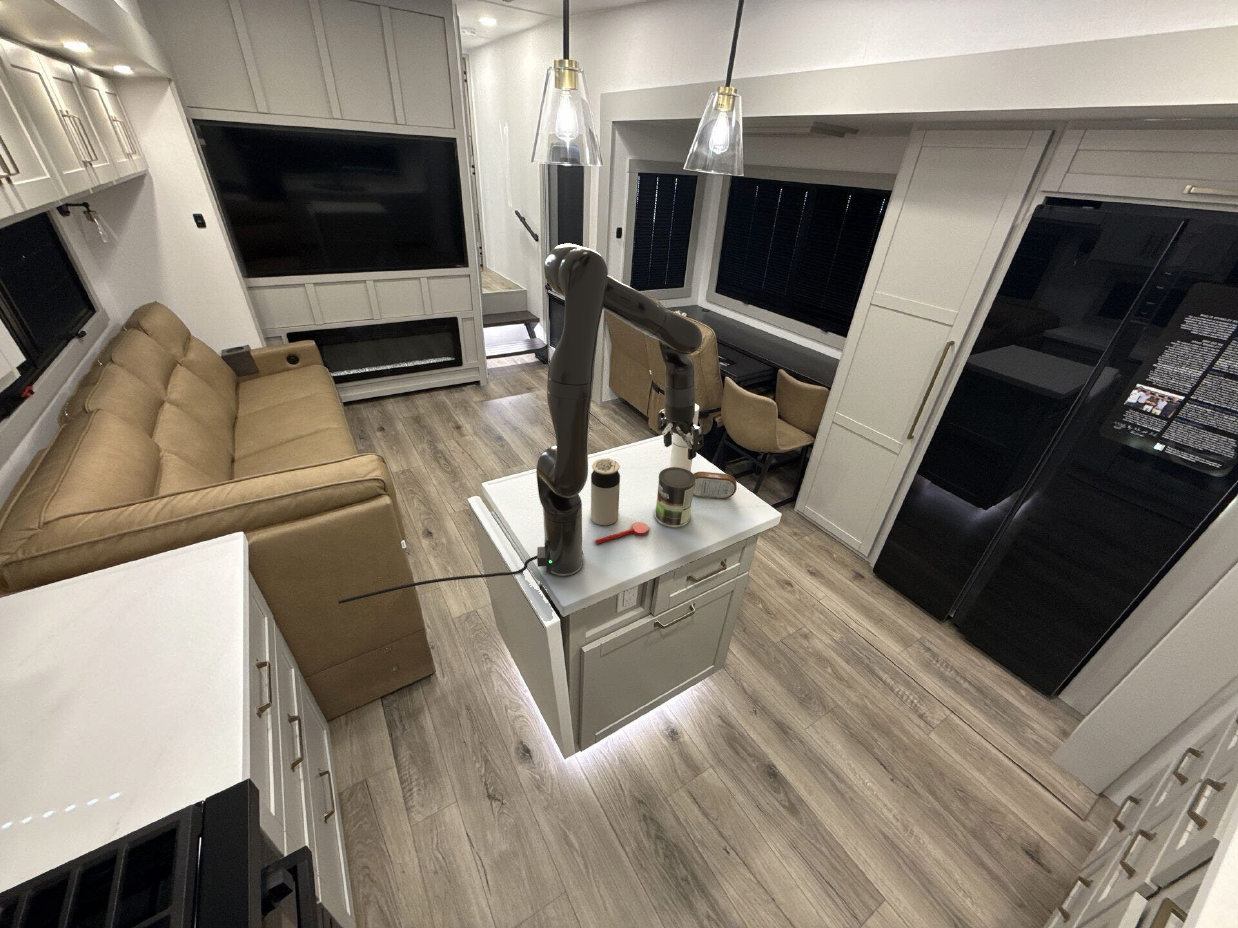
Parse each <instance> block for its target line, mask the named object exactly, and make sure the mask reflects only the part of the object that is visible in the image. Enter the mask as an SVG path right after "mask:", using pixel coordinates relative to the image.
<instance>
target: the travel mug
mask: <svg viewBox="0 0 1238 928" xmlns="http://www.w3.org/2000/svg"><path fill="white" fill-rule="evenodd" d="M620 467H621V466H620V464H619V462H618V461H617V460H614V459H612V458H599V459H597V460H595V461H594V462H592V464H591V468H592V470H593V471H592V472H591V474H590V519H591V521H592V522H593V523H595V524H597V525H599V526H610V525H613V524H615V523H616V522H617V521H618V519H619V511H620V509H619V508H620V507H619V506H620V486H621V473H620V471H619V470H620Z"/></svg>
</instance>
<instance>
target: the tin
mask: <svg viewBox="0 0 1238 928" xmlns="http://www.w3.org/2000/svg"><path fill="white" fill-rule="evenodd" d="M693 474H694V476H695V478H696V481H695V484H694V491H693V497H698V498H708V499H718V500H726V499H730V498H732V497H733V496H734V495H735V494H736V491H737V489H738V488H737V487H738V486H737V480H736V479H735V477H734V476H733V475H731V474H728V473H721V472H711V471H695V472H693Z"/></svg>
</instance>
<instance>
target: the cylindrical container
mask: <svg viewBox="0 0 1238 928" xmlns="http://www.w3.org/2000/svg"><path fill="white" fill-rule="evenodd" d="M699 413H700V405H698V404H697V403H695V415H694V418H693V423H694V426H697V427H698V420H699ZM689 436H690V433H688V434H687V435H686V437H689ZM690 442H691V444H692V443H693V442H692V440H691V439H690ZM670 448H671V449H670V455H669V456H670V457H669V466H668V468H670V467H679V468H683V469H686V470H689V471H690V472H692V465H693V459H692V460H689V459H688V448H689V447H688V445H687V443H686V442H684V441H683V439H682V437H681V436H679V435H678V434H675V433H673V432H672V445H671V446H670Z"/></svg>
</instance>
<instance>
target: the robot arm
mask: <svg viewBox="0 0 1238 928" xmlns="http://www.w3.org/2000/svg"><path fill="white" fill-rule="evenodd" d="M543 272H544V276H545V280H546V282H547V284H548V285H549V286H550V288H551V289H552V290H553V291H554V292H555V293H557V294H558V295H560V296H562V297H564V322H563V328H562V329H563V330H562V333H561V337H560V339H559V341H558V343H557V345H556V347H555V349H554V351H553V353H552V355H551V358H550V359H549V363H548V368H547V379H546V380H547V381H546V383H547V384H546V400H547V401H546V402H547V407H548V410H549V415H550V419H551V423H552V426H553V431H554V434H555V443H556V445H552V446H549V447H547V448H546V449H545V450H544V451H543V452H542V453H541V454H540V455H539V458H538V460H537V462H536V468H535V469H536V471H535V473H536V484H537V492H538V493H537V494H538V499H539V502H540V505H541V507H542V515H543V516H542V518H543V528H544V529H543V532H544V546H537V547H536V548H537V551H536V555H534V556H531V557H529V558H528V559H526V560H525V562H524V564H523V567H522V568H521V569H518V570H515V571H503V572H502V571H501V572H493V573H492V572H491V573H483V574H468V575H460V576H459V575H457V576H447V577H442V578H436V579H435V578H433V579H427V580H422V581H416V582H410V583H406V584H401V585H396V586H392V587H388V588H384V589H380V590H376V591H371V592H367V593H363V594H359V595H355V596H351V597H347V598H343V599H339V600H338V601H337V603H338V604H339V605H340V604H344V603H348V602H352V601H357V600H360V599H364V598H368V597H372V596H377V595H381V594H385V593H390V592H394V591H398V590H402V589H407V588H411V587H417V586H422V585H428V584H429V585H430V584H435V583H441V582H442V583H443V582H450V581H460V580H468V579H482V578H493V577H500V576H513V575H517V574H521V573H523V572H524V571H526V570H527V568H528V565H529V563H531V562H532V561H535V560H536V562H537V564H536V565H537V567H545V572H546V574H549V573H550V574H553V575H554V576H558V577H569V576H572V575H574V574H576V573H578V572H579V571H581V569H582V567H583V564H584V562H583V561H584V560H583V555H584V551H583V503H582V502H583V501H582V499H581V496H580V493H581V492H582V490H583V489H584V488H585V486H586V483H587V481H588V475H589V430H590V429H589V428H590V419H591V418H590V417H591V406H592V405H591V404H592V398H593V389H594V379H595V364H596V363H595V362H596V355H597V347H598V346H597V345H598V338H599V337H598V336H599V329H600V323H601V319H602V313H603V311H605V312H607V313H609V314H610V315H612V316H614V317H615V318H617V319H618V320H620V321H622V322H623V323H625V325H628V326H630V327H631V328H633V329H635V330H636V331H638V332H640V333H642V334H644V335H645V336H647V337H649V338H652V339H655V340H657V341H658V347H659V350H660V351H659V352H660V354H661V358H662V362H663V365H664V370H665V371H664V376H665V377H664V378H665V380H664V382H665V383H664V384H665V385H664V409H661V410H660V411H657V426H656V427H657V428H656V429H657V431H658V432H661V434H662V436H663V445H664V447H665V448H669V447H671V446H672V438H673V433H675V434H678V435H679V436H681V437H682V439H683V441H684V442H686V443H687V445H688V447H689V448H688V459H689V460H692V461H693V460H694V459H695V458H696V457H697V450H699V449H701V448H703V447H704V440H705V439H704V427H703V426H702V425H700V426H698V425H697V426H694V423H693V418H694V415H695V404H696V386H695V378H696V377H695V376H696V375H695V373H696V369H695V362H694V361H693V359H691V358H690V356H688V355H692V354H694V353H696V352H697V351H698V350H699V349H700V347H701V345H702V344H703V334H702V331H701V329H700V327H699V326H698V325H697V324H696V323H694V322H692V321H691V320H688V319H686V318H684V317H683V316H680V315H678V314H676V313H674V312H673V311H671V310H669V309H668V308H667V307H666V306H664V305H663V304H661V303H660V302H658V301H657V300H655V299H653V298H652V297H650V296H648V295H647V294H644V293H643V292H641V291H639V290H637V289H635V288H632V287H631V286H629V285H626V284H624V283H622V282H621V281H618V280H617V279H615V278H613V277H612V276H610V275H608V274H609V273H608V266H607V263H606V260H605V258H604V257H603V256H602V255H601V254H600V253H599V252H597V251H596V250H593V249H590V248H587V247H584V246H580V245H577V244H574V243H573V244H572V243H564V244H560V245H557V246H555V247H554V248H552V249H551V250H550V251H549V252H548V254H547V256H546V257H545V259H544V265H543ZM688 433H690V436H689V437H686V435H687V434H688ZM690 439H691V440H692V442H693V443H692V444H691V442H690Z"/></svg>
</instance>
